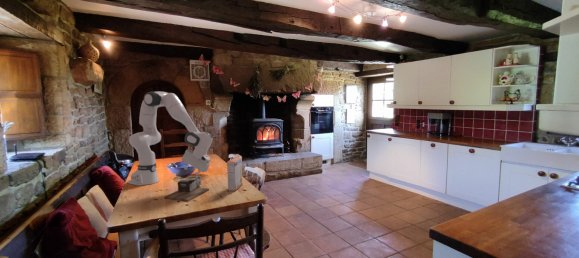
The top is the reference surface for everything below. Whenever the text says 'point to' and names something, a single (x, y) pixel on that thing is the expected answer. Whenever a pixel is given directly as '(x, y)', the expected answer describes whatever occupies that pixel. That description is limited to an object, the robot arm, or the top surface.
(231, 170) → the cracker box
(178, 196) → the walnut board
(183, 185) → the coffee box
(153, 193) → the top surface
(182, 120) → the robot arm
